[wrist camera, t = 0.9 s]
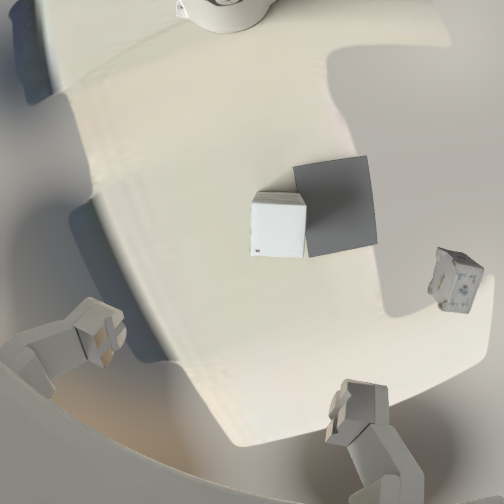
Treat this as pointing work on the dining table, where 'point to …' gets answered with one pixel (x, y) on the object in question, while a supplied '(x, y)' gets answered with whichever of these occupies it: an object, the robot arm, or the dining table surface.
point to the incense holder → (455, 281)
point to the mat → (337, 205)
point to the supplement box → (277, 225)
